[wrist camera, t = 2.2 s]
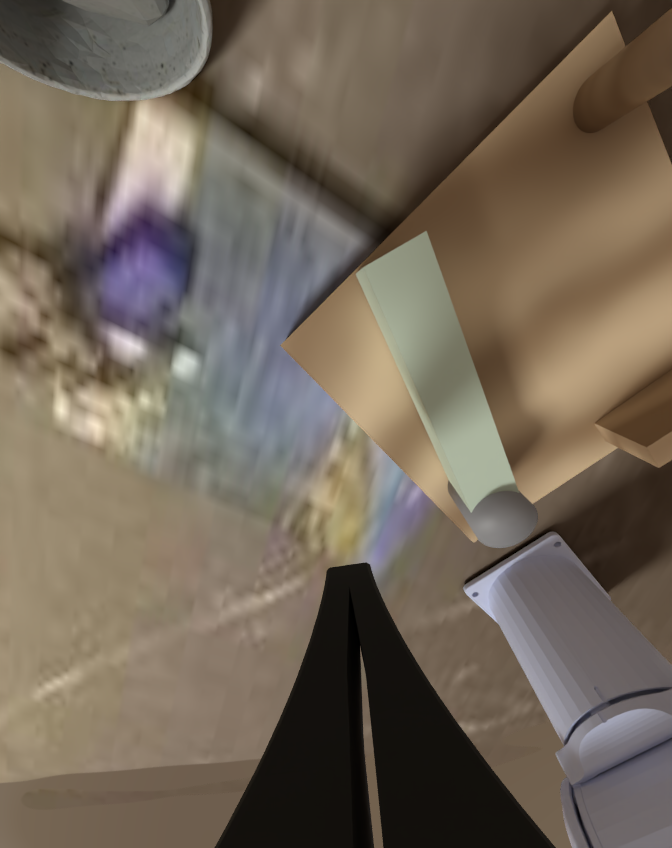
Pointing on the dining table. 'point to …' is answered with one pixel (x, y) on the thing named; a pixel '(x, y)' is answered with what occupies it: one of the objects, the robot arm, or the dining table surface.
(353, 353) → the stool seat
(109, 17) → the ceramic mug
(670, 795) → the robot arm
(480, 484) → the leg
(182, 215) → the dining table surface
